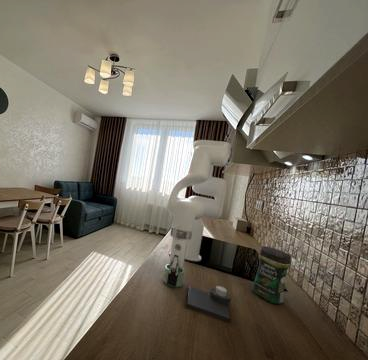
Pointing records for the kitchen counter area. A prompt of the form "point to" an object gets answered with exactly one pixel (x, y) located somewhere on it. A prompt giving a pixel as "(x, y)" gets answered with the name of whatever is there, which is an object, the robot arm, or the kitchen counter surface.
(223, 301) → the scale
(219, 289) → the power button
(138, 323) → the kitchen counter surface
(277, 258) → the coffee jar
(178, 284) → the green cup
